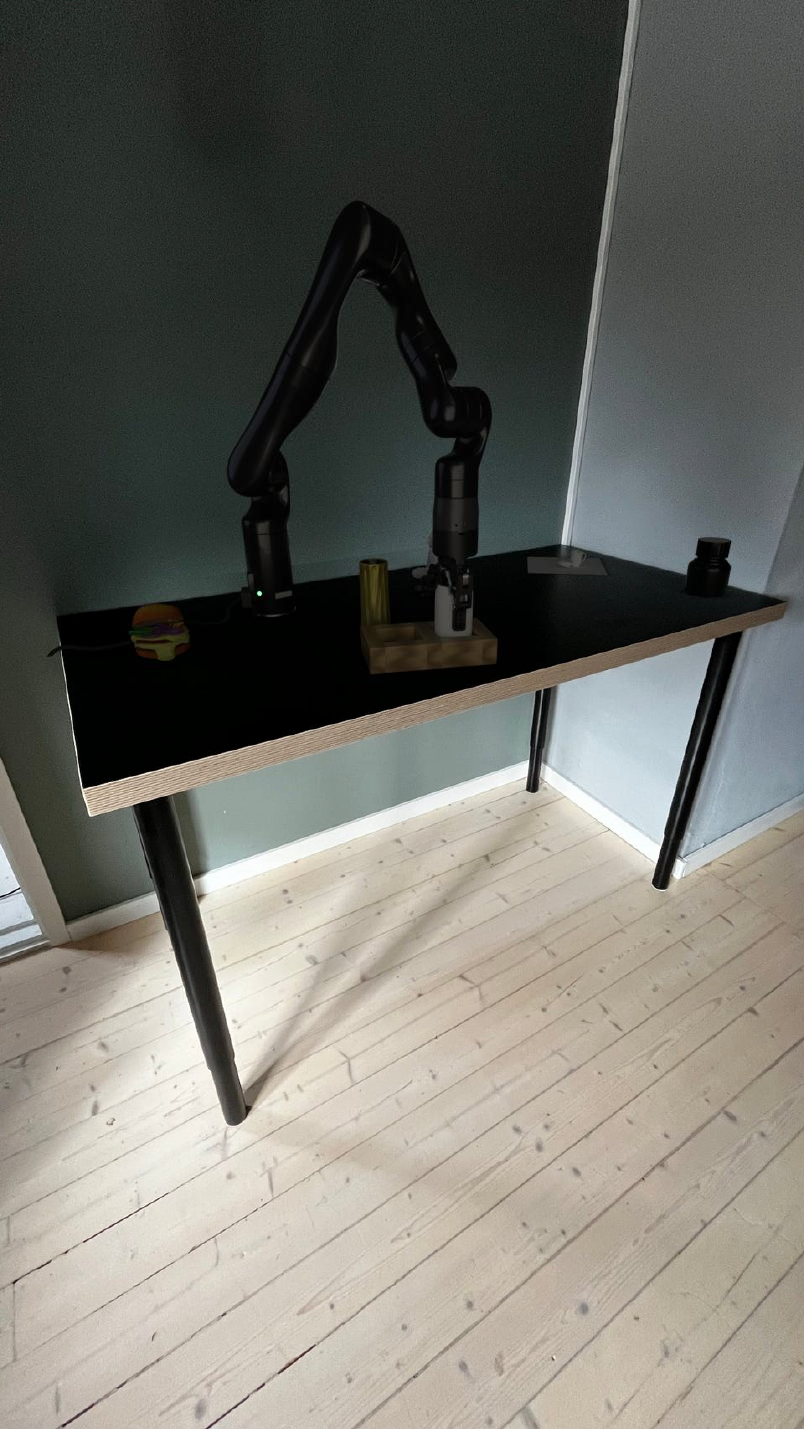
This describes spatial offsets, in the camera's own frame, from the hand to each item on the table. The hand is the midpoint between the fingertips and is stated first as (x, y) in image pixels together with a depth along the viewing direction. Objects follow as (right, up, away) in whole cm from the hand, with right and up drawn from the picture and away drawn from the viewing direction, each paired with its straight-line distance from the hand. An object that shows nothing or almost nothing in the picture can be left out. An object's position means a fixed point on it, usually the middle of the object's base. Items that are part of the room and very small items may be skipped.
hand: (453, 624), depth 111 cm
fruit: (0, +12, +38) cm, 40 cm away
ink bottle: (+60, +12, +36) cm, 71 cm away
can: (0, -4, +2) cm, 5 cm away
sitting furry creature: (0, +19, +54) cm, 57 cm away
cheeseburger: (-52, -5, +6) cm, 53 cm away
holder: (-5, -6, +2) cm, 7 cm away
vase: (-14, -1, +12) cm, 18 cm away
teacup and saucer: (+35, +25, +63) cm, 76 cm away
